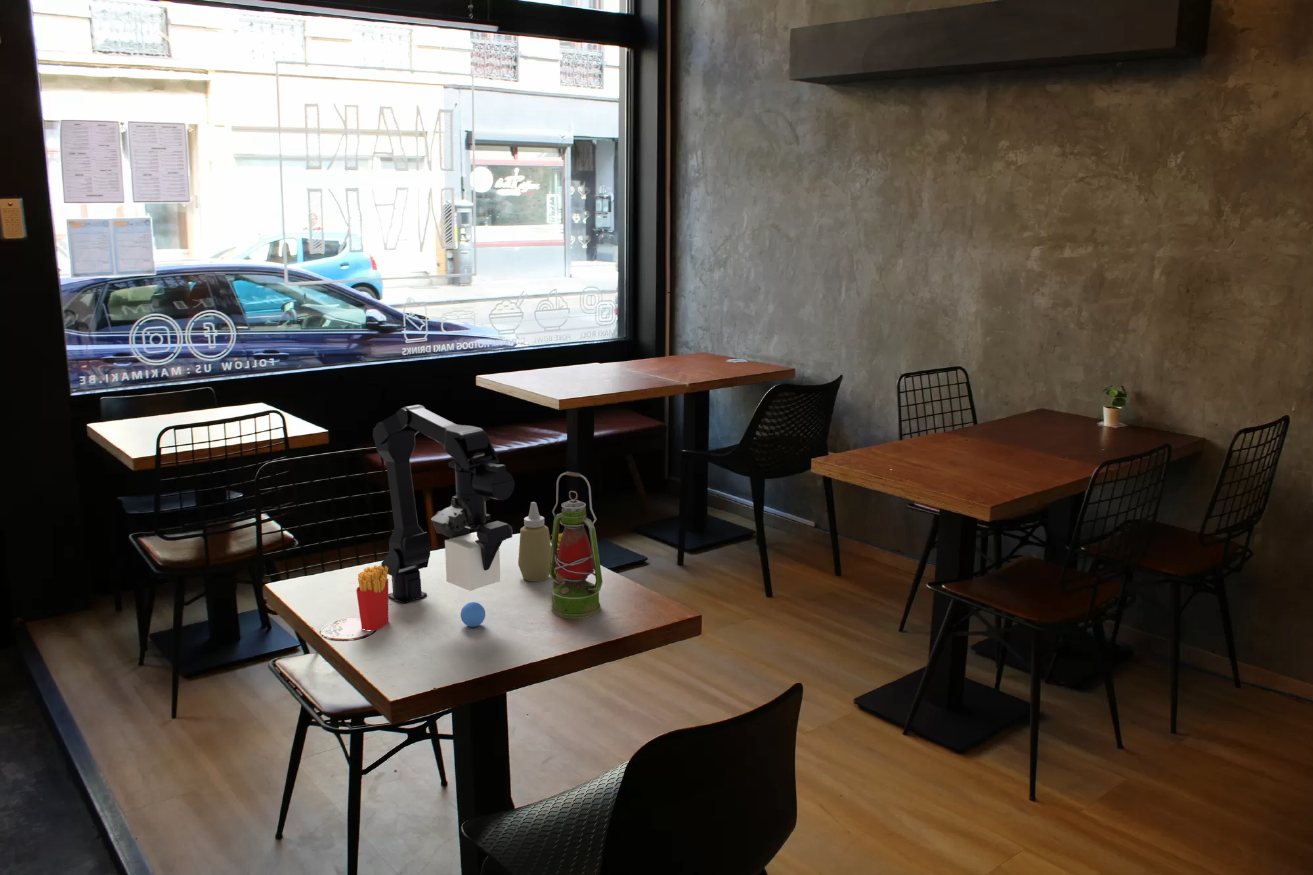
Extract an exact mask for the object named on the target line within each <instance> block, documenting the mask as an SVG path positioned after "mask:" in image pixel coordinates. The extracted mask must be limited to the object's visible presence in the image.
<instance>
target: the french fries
mask: <svg viewBox="0 0 1313 875" xmlns="http://www.w3.org/2000/svg"><path fill="white" fill-rule="evenodd" d="M388 575H389V574H388V568H387V567H386V566H385V569H384V568H383V566H382V565H381V564H380V565H376V564H375V565H374V566H372V567H370V566H368V567H366V568H363V571H361V572H359V573H358V578H357V580H358V581H357V582H358V585H359V586H358V587H356V590H355V591H356V597H357V603H358V613H359V619H360V625H361V630H362V629H365V630H375V631H378V630H379V629H382V628H384V626H387V625H388V624H390V623H389V597H388V594H389V578H388ZM377 629H378V630H377Z"/></svg>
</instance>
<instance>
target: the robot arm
mask: <svg viewBox="0 0 1313 875" xmlns="http://www.w3.org/2000/svg"><path fill="white" fill-rule="evenodd" d="M418 433H420V434H422V435H424V436H426V437H428V438H430V439H432V440H434V441H435V442H437V443H440V444H441V445H442V446H443V449H444V452H445V453H447V454H448V455H449V456H450V457H451V458H452V460H451V461H450V462H448V467H449V468H452V469H454V474H455V475H454V476H455V493H456V494H455V495H454V496H452V497H451V499H450V505H449V506H448V507H445V508H443V509H442V510H439V511H436V512H435V514H434V516H432V517H431V518H430V519H431V522H432V525H433V528H434V530H435V532H436V534H440V535H443V536H445V537H449V539H452V538H455V537H459V536H463V535H466V534H470V530H472V531H474V532H477V537H478V539H479V540H476V541H475V542H476V543H477V544H478V545H479V546H480V547H481V555H482V563H483V569H484V570H489V568H490V566H491V564H492V561H493V559H494V557H495V555H496V553H497V551H498V549H499V550H500V546H501V545H502V543H503V542H504V541H506V540H507V539H511V538H513V526H511V525H510V524H509V523H507V522H503V521H501V520H500V521H499V520H496V521H492V522H488V521H491V520H492V519H491V517H492V516H491V514H489V513H487V506H486V502H487V501H491V499H494V500H497V501H505V500H507V499H509V498H510V497H512V496H511V495H512V494H513V492H514V490H515V485H516V484H515V479H514V477H513V475H512V474H511V473H510V472H509V471H507V466H506V465H505V464H498V463H500V459H499V457H498V453H497V452H496V449H495V448H494V446H493V444H492V443H491V441H490V438H489V437H488V435H487V432H486V431H485V430H484V429H483V428H482V427H477V426H474V425H467V424H466V425H465V424H463V425H462V424H456V423H454V422H453V421H450V420H448V419H446V418H444V417H442V416H440V415H438V414H436V413H435V412H432V411H431V410H429V409H426V407H425V406H424V405H421V404H414V405H409V406H408V405H407V406H404V407H402V408H400V409H398V411H396V412H395V413H394V414H391V415H390V416H388V417H387V418H385V419H383V420H382V421H380V422H377V423H376V424H375V427H374V428H373V430H372V438H373V441H374V445H375V448H376V452H377V453H378V454H379V455H380V457H381V458H382V459H383V461H384V462H385V465H386V472H387V479H388V480H387V481H388V488H389V496H390V502H391V510H392V517H393V518H392V519H393V525H394V528H393V530H392V533H391V535H390V537H389V539H388V548H389V549H388V553H387V555H386V556H385V558H384V559H383V560H382V562H381V564H380V565H382V566H383V568H384V569H385V566H386V567H387V568H388V574H387V575H390V576H391V583H392V584H391V585H392V586H391V587H392V592H390V593H388V599H392V600H394V601H397V602H398V603H401V604H406V603H409V602H413V601H415V600H419V599H421V598H425V597H427V596H428V593H427V592H424V591H423V590H422V581H421V580H422V578H421V571H420V570H421V569H424V568H428V565H429V561H430V560H429V559H430V557H431V551H432V547H431V543H430V534H429V532H428V531H425V532H424V530H423V529H422V527H421V526H419V523H418V514H417V508H416V507H417V506H416V498H415V492H414V484H413V478H412V477H413V476H412V469H411V468H412V467H411V460H410V459H411V457H412V454H413V453H414V450H415V448H416V435H417V434H418ZM486 522H488V523H486Z"/></svg>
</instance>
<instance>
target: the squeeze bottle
mask: <svg viewBox="0 0 1313 875" xmlns="http://www.w3.org/2000/svg"><path fill="white" fill-rule="evenodd" d="M529 506H530V507H529V512H528V516H525V517H524V518H523V525H524V526H522V527H521V528H520V530H519V531H520V533H519V547H518V561H517V562H518V564H517V565H518V568H519V571H520V573H521V576H522V578H523V579H524V581H528V582H542V581H545V580H547V579H548V578H549V577H550V573H549V564H550V555H551V551H550V550H551V545H552V543H551V536H550V530H549V527H548V526H547V525H545V517H544V516H542V515H540V513H539V508H538V505H537V502H535V501H531V502H530V505H529Z"/></svg>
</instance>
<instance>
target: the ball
mask: <svg viewBox="0 0 1313 875" xmlns="http://www.w3.org/2000/svg"><path fill="white" fill-rule="evenodd" d="M460 619H461V621H462V624H464V625H466V626H468V627H470V628H474V627H477V626H480V625H481V624H482V623H483V622H484V621H485V619H486V610H485V608H484V606H483V604H481V603H480V602H476V601H475V602H474V601H471V602H468V603H465V605H463V607H462V608H461V611H460Z"/></svg>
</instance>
